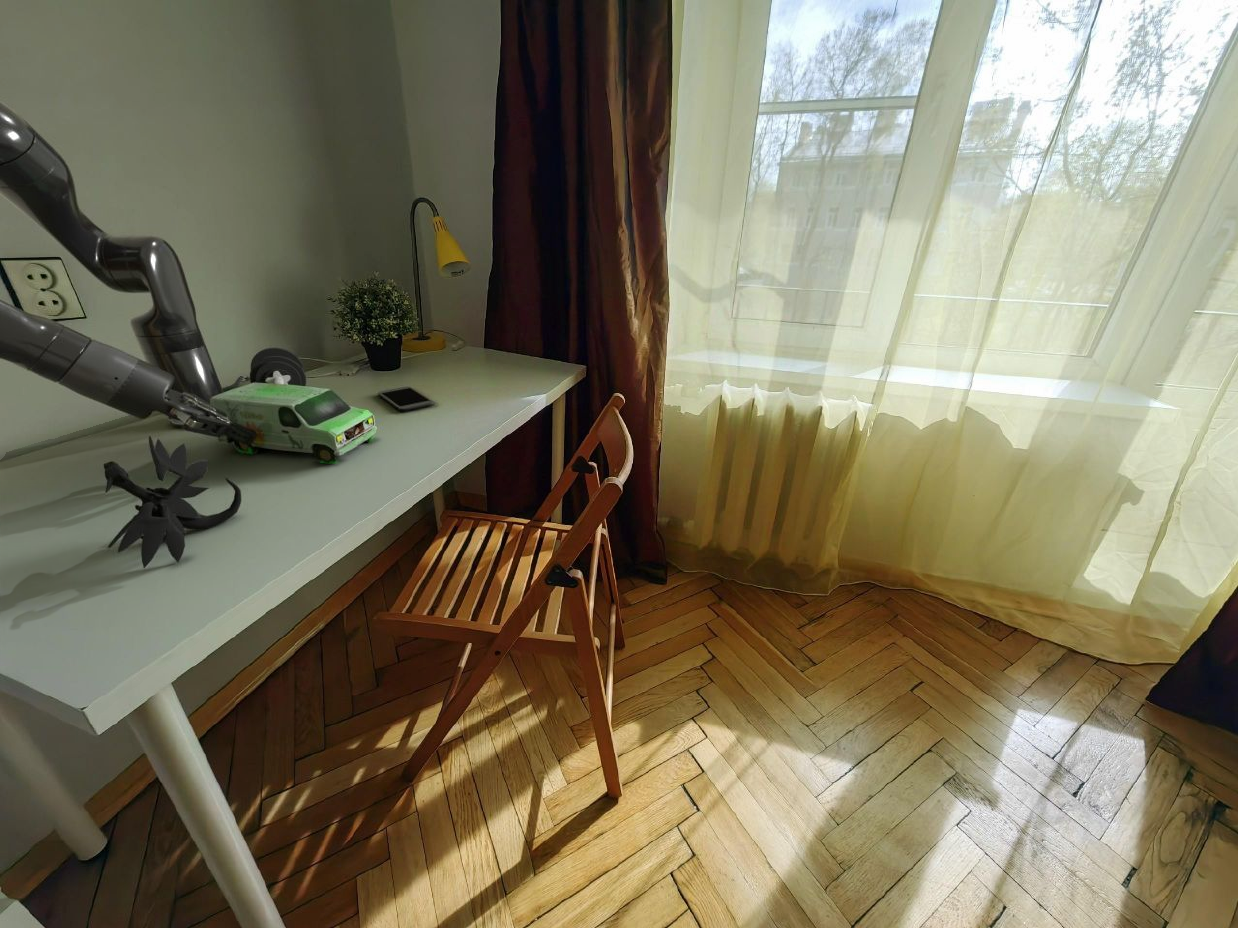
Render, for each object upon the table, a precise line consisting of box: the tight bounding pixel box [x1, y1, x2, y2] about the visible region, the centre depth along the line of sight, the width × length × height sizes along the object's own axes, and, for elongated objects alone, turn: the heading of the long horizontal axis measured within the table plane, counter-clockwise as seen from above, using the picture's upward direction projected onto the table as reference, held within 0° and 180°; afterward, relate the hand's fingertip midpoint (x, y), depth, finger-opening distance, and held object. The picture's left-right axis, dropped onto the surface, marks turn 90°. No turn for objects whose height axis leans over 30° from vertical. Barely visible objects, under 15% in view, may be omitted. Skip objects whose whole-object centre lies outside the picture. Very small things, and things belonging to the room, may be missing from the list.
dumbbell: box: [249, 347, 307, 386], centre depth 108 cm, size 22×10×10 cm, turn 33°
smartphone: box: [377, 386, 435, 412], centre depth 108 cm, size 7×15×1 cm, turn 42°
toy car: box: [210, 382, 378, 465], centre depth 85 cm, size 11×25×10 cm, turn 78°
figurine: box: [103, 435, 242, 569], centre depth 59 cm, size 16×13×11 cm
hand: (253, 439), depth 80 cm, fingers closed
